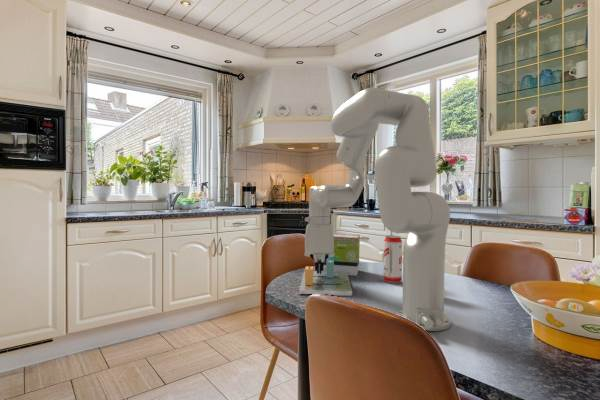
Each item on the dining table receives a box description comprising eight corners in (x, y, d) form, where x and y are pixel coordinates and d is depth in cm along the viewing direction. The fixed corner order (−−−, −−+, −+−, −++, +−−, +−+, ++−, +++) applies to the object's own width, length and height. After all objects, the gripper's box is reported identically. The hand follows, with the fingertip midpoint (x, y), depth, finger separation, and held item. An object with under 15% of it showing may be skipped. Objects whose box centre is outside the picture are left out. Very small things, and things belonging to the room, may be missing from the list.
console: (352, 296, 104) (352, 290, 104) (299, 294, 105) (299, 289, 105) (346, 276, 128) (346, 272, 128) (303, 275, 129) (303, 271, 129)
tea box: (318, 273, 132) (318, 235, 132) (322, 268, 142) (322, 232, 142) (357, 276, 129) (358, 236, 128) (359, 270, 138) (360, 233, 138)
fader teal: (333, 277, 119) (333, 263, 119) (326, 277, 120) (326, 263, 119) (333, 274, 124) (333, 260, 124) (326, 274, 124) (326, 260, 124)
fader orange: (312, 285, 110) (313, 269, 110) (305, 284, 110) (305, 269, 110) (313, 281, 114) (313, 266, 114) (305, 281, 114) (305, 266, 114)
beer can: (399, 279, 124) (400, 235, 124) (403, 284, 118) (404, 237, 117) (382, 279, 125) (382, 235, 124) (384, 283, 118) (385, 237, 118)
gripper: (297, 221, 118) (297, 274, 119) (341, 222, 117) (341, 275, 118) (299, 219, 126) (298, 269, 126) (340, 220, 125) (339, 270, 125)
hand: (319, 272), depth 122 cm, fingers closed
